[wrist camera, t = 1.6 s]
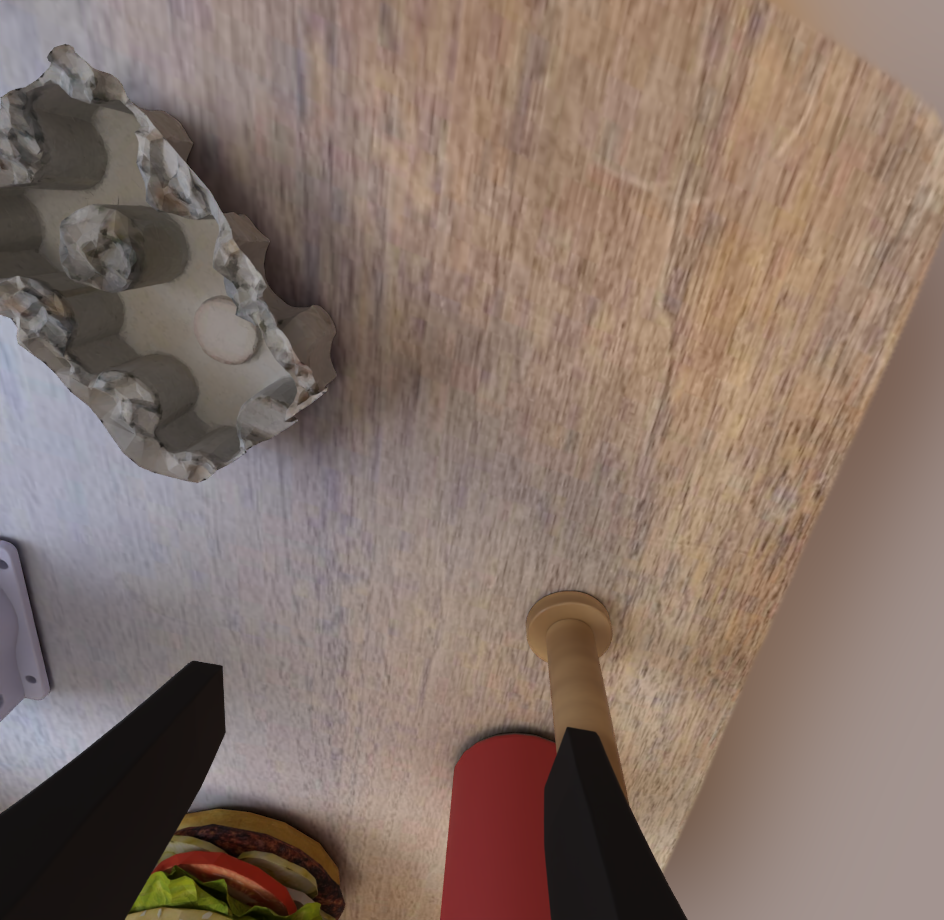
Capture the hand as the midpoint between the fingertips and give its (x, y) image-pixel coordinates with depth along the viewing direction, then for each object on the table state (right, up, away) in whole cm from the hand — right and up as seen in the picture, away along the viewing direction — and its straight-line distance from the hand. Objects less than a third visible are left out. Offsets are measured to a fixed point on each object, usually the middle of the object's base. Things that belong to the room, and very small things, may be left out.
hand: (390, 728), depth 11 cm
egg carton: (-8, +11, +7) cm, 15 cm away
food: (-12, -19, +22) cm, 32 cm away
